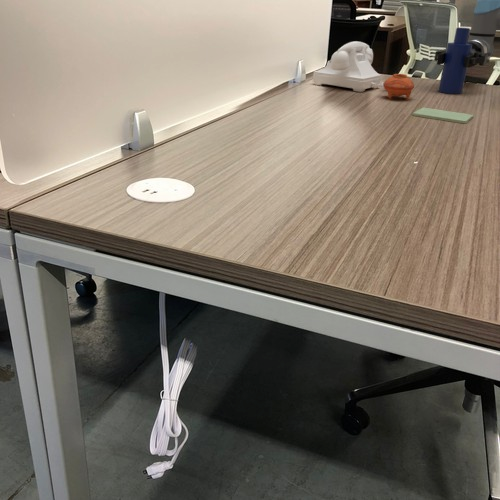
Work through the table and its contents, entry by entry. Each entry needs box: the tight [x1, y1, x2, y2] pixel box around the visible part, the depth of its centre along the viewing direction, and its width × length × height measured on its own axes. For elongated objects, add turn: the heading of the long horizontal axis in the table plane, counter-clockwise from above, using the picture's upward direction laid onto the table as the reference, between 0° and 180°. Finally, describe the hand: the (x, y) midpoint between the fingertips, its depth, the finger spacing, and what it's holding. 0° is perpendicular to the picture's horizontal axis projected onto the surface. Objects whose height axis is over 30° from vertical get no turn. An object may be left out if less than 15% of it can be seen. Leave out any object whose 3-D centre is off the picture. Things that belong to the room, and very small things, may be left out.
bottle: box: [438, 27, 472, 95], centre depth 143 cm, size 6×6×17 cm
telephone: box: [312, 40, 385, 93], centre depth 148 cm, size 25×21×12 cm
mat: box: [411, 107, 475, 125], centre depth 118 cm, size 12×8×1 cm, turn 56°
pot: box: [382, 73, 415, 100], centre depth 135 cm, size 8×8×7 cm
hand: (452, 60), depth 139 cm, fingers closed on bottle, 6 cm apart
